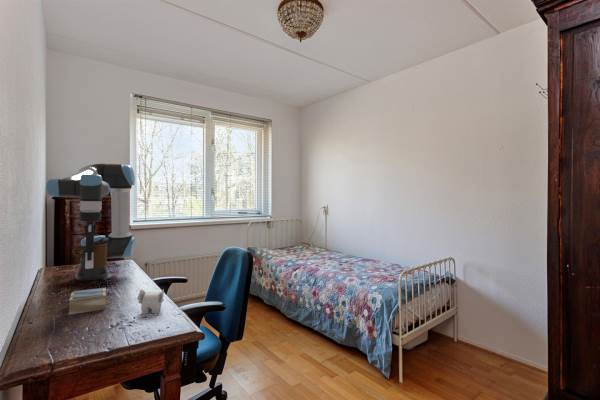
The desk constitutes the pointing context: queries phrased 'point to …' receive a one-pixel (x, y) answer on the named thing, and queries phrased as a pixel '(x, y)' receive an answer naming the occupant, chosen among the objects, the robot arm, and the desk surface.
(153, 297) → the elephant figurine
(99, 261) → the mug
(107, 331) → the desk surface
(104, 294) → the plinth
